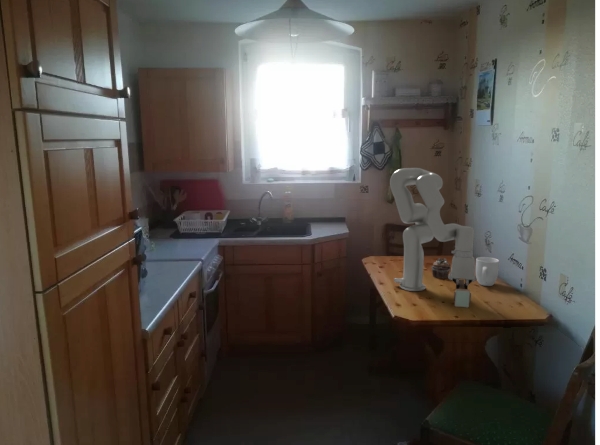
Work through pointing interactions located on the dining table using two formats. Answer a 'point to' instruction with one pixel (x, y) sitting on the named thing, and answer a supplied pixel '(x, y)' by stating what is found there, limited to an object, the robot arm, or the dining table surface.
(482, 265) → the mug
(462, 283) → the scraper
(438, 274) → the cupcake
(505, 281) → the dining table surface
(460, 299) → the tile
